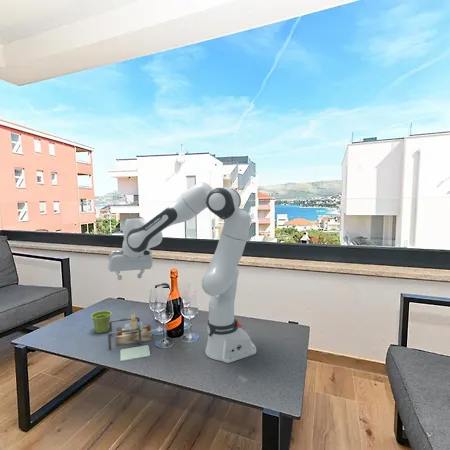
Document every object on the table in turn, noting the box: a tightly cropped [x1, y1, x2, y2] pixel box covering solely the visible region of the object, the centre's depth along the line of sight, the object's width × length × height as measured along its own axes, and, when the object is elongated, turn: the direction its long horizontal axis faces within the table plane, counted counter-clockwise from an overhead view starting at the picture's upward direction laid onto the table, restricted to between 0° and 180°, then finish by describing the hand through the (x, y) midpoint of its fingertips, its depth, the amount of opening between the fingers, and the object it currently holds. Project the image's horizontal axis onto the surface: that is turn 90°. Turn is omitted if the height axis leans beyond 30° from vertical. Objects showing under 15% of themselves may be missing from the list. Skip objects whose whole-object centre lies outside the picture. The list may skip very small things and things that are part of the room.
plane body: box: [107, 316, 153, 351], centre depth 138 cm, size 19×14×8 cm
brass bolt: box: [130, 313, 137, 330], centre depth 138 cm, size 2×15×2 cm, turn 19°
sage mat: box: [119, 344, 151, 362], centre depth 126 cm, size 12×9×1 cm
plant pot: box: [90, 310, 112, 334], centre depth 147 cm, size 9×9×9 cm
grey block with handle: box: [124, 321, 143, 335], centre depth 139 cm, size 8×4×5 cm, turn 109°
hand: (129, 278), depth 138 cm, fingers open, 8 cm apart
